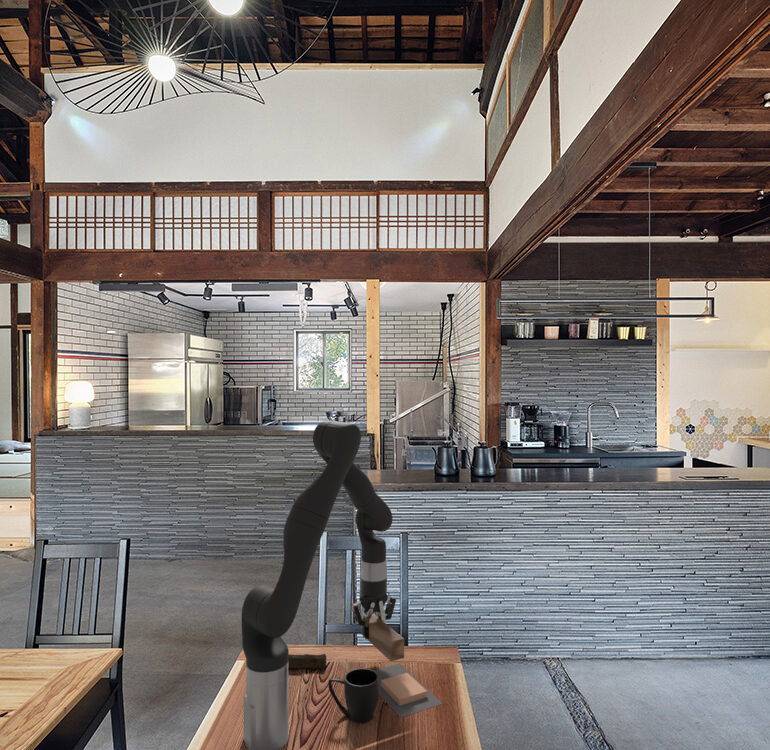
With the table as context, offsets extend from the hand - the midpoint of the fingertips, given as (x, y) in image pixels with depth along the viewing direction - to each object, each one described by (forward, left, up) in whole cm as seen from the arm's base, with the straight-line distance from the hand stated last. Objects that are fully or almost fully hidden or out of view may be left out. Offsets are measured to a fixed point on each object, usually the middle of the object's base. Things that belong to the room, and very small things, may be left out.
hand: (373, 636), depth 153 cm
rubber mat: (0, -15, -8) cm, 17 cm away
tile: (0, -12, -6) cm, 14 cm away
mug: (-15, -20, -8) cm, 26 cm away
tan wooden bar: (0, -5, 0) cm, 5 cm away
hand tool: (-21, +8, -8) cm, 24 cm away
